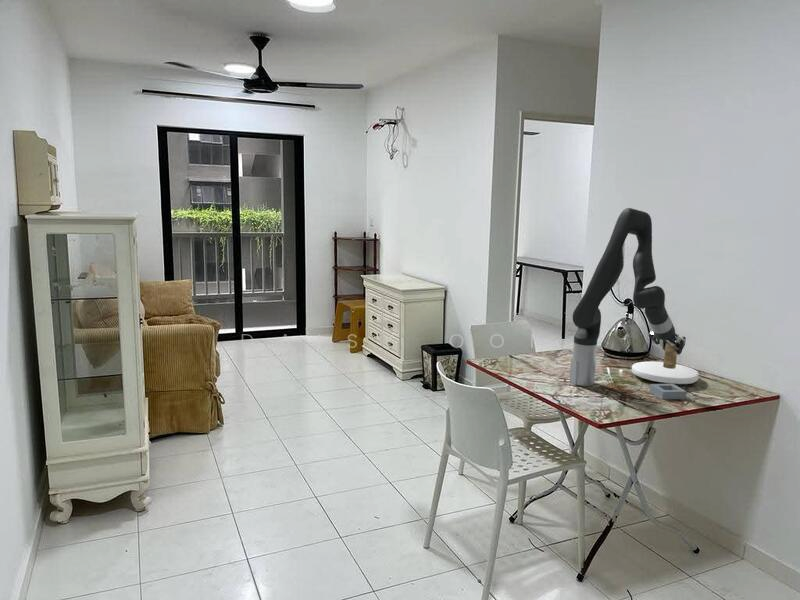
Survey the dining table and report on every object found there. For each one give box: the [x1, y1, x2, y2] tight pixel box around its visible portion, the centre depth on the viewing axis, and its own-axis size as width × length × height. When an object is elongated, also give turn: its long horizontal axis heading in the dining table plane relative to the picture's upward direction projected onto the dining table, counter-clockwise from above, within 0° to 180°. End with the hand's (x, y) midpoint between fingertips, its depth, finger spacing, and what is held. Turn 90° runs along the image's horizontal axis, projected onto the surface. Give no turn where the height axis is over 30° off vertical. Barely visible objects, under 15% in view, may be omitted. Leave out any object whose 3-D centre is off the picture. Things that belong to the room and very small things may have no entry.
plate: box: [631, 360, 700, 385], centre depth 250 cm, size 28×6×27 cm
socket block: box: [649, 383, 687, 400], centre depth 228 cm, size 10×10×3 cm
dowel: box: [663, 333, 680, 369], centre depth 225 cm, size 4×4×13 cm
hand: (673, 351), depth 227 cm, fingers closed on dowel, 4 cm apart
